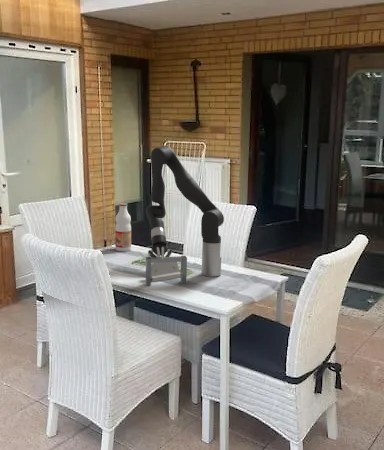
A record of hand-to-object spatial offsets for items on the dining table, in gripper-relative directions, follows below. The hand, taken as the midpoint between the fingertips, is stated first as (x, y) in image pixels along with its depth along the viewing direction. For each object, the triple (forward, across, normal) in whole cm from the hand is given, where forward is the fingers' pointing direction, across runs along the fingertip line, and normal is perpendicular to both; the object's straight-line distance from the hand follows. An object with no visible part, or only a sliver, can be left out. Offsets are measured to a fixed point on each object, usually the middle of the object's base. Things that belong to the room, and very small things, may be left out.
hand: (161, 267), depth 248 cm
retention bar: (+13, 0, -7) cm, 14 cm away
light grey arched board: (+6, 0, 0) cm, 6 cm away
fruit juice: (-34, -15, +41) cm, 56 cm away
